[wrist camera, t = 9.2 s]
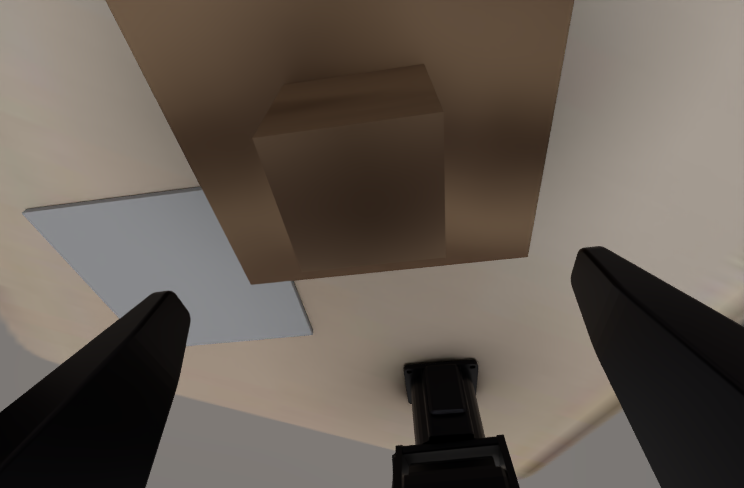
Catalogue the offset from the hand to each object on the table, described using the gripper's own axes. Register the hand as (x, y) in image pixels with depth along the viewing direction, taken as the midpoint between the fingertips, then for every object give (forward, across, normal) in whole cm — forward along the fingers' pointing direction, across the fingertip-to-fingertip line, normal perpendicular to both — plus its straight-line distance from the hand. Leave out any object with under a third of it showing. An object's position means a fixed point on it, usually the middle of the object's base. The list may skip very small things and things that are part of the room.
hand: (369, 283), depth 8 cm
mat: (+12, +14, +11) cm, 22 cm away
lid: (+7, 0, 0) cm, 7 cm away
